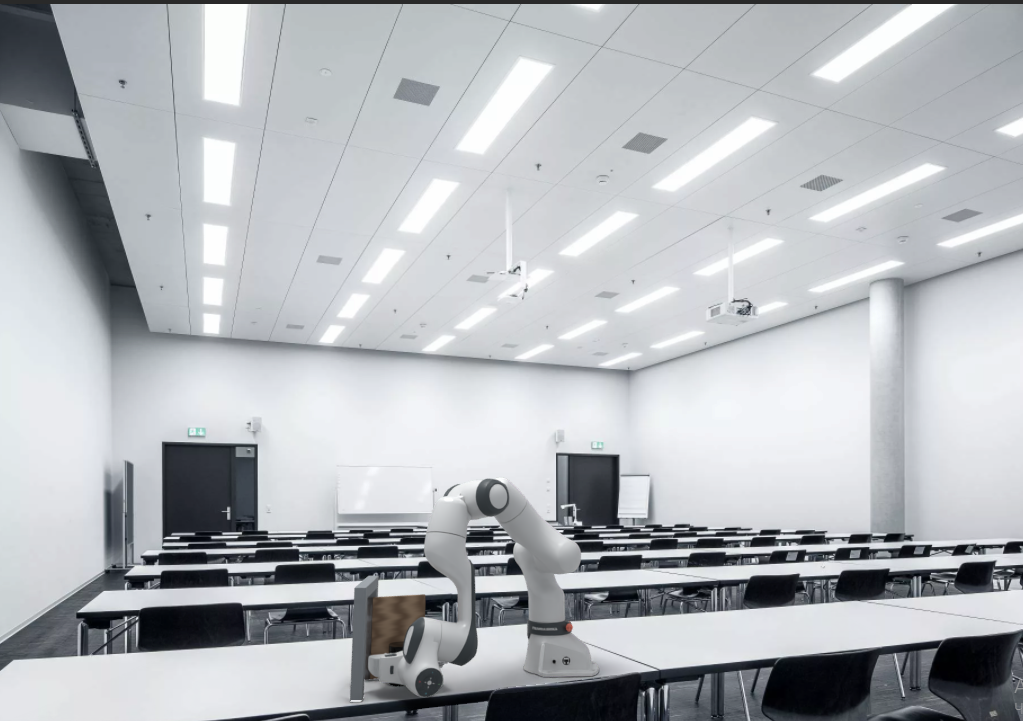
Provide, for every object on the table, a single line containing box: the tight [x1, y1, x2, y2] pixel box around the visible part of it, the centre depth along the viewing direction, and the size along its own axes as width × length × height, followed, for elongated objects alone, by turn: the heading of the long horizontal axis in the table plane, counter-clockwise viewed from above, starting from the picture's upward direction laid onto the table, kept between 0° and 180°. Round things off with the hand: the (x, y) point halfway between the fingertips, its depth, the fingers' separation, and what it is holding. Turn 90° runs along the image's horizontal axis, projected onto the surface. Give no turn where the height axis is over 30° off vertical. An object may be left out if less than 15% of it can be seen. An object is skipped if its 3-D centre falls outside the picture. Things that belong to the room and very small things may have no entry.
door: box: [364, 594, 426, 681], centre depth 197 cm, size 17×3×22 cm, turn 111°
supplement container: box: [388, 641, 405, 687], centre depth 191 cm, size 7×7×10 cm
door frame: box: [349, 575, 380, 702], centre depth 188 cm, size 24×3×28 cm, turn 3°
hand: (399, 654), depth 193 cm, fingers closed on supplement container, 6 cm apart
